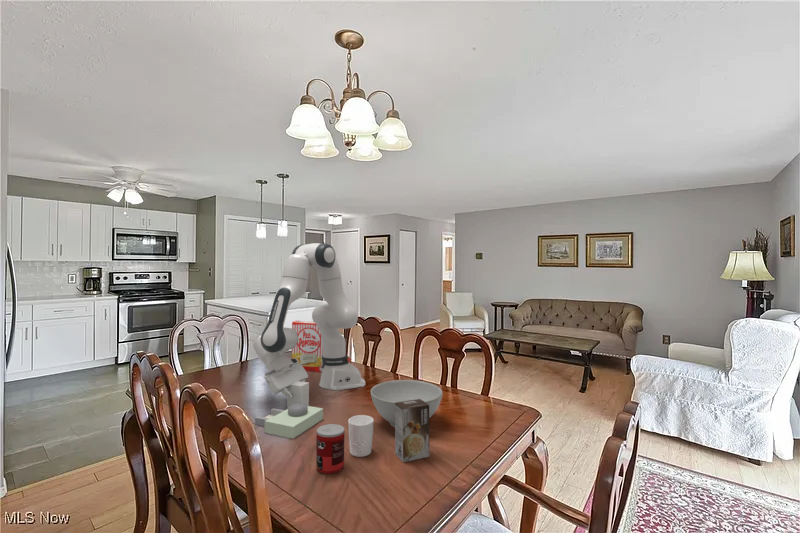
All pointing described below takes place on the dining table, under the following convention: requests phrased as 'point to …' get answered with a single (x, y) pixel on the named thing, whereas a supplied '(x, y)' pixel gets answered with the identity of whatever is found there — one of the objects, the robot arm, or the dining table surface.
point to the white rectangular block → (298, 393)
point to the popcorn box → (308, 345)
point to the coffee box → (412, 430)
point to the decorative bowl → (404, 396)
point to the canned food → (330, 448)
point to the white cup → (360, 435)
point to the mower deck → (290, 420)
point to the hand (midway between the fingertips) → (299, 394)
